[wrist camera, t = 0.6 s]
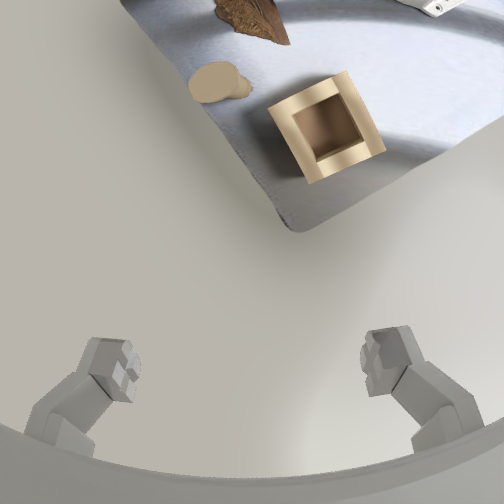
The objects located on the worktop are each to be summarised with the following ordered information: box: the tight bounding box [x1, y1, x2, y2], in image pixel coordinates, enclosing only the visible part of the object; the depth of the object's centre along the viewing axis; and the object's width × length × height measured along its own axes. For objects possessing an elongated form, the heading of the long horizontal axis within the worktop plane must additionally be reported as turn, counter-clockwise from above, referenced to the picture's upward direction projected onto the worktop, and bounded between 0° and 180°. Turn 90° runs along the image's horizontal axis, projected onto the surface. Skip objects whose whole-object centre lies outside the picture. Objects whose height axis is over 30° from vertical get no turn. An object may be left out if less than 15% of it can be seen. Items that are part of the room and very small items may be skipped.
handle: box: [188, 61, 253, 103], centre depth 38 cm, size 5×6×15 cm
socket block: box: [268, 71, 386, 184], centre depth 42 cm, size 13×13×6 cm
